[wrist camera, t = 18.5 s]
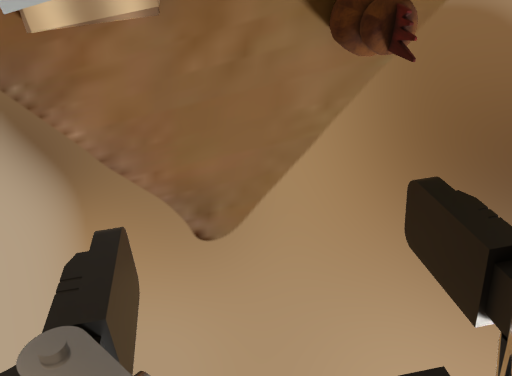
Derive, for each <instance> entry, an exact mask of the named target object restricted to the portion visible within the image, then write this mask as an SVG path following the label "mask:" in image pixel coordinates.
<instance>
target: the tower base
mask: <svg viewBox="0 0 512 376" xmlns="http://www.w3.org/2000/svg"><path fill="white" fill-rule="evenodd" d="M19 11H20V14H21V17H22V20H23V23H24V26H25V29H26V32H27V33H31V29H30V27H29V24H28V22H27V19H26V17H25V14H24V12H23V9H20V10H19ZM159 13H160V12H159V7H153V8H149V9H144V10H139V11H134V12H130V13H125V14H120V15H115V16H111V17H106V18H101V19H96V20H92V21H87V22H82V23H77V24H73V25H68V26H63V27H58V28H54V29H61V28H68V27H75V26H83V25H90V24H97V23H105V22H112V21H120V20H127V19H134V18H142V17H149V16H156V15H159ZM49 30H53V29H49ZM44 31H46V30H44Z"/></svg>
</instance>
